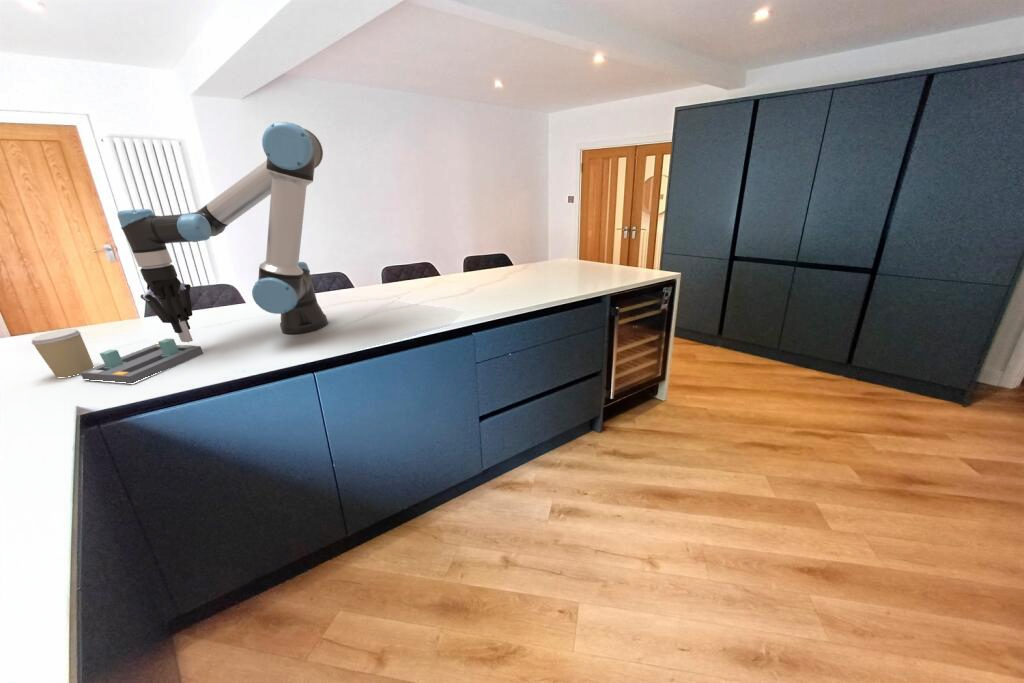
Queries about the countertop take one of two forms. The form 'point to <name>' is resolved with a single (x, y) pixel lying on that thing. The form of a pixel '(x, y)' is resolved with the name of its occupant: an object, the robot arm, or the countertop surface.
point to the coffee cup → (64, 352)
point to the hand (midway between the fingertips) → (187, 341)
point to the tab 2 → (168, 347)
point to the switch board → (142, 364)
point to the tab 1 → (111, 359)
